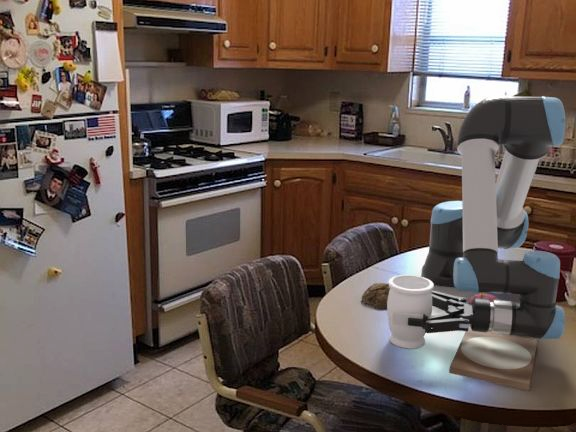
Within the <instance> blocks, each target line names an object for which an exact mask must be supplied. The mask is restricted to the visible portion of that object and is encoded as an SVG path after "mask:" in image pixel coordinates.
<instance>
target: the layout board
mask: <svg viewBox="0 0 576 432" xmlns="http://www.w3.org/2000/svg"><path fill="white" fill-rule="evenodd" d="M537 346H538V339H535V338H530V337H525V336H517V335H507V334H503V335H500V334H497V333H491V331H490V330H488V332H476V331H472V330H471V326H469V328H468V331H464V334H463V336H462V338H461V341H460V343H459V345H458V347H457V349H456V351H455V354H454V355H453V358H452V359H451V363H450V365H449V370H448V373H449V374H453V375H458V376H462V377H467V378H471V379H474V380H475V379H476V380H479V381H484V382H488V383H493V384H498V385H501V386H506V387H511V388H516V389H520V390H523V391H529V389H530V385H531V384H530V383H531V380H532V373H533V370H534V369H533V368H534V363H535V358H536V351H537V348H538V347H537Z"/></svg>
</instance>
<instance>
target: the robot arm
mask: <svg viewBox="0 0 576 432" xmlns="http://www.w3.org/2000/svg"><path fill="white" fill-rule="evenodd" d="M468 111H469V112H467V114H466V116H465V117H464V118H463V121H462V122H461V125H460V127H459V130H458V134H457V139H456V144H457V146H456V147H457V152H458V154H459V155H461V188H462V189H461V193H462V194H461V196H462V197H461V198H462V200H449V201H443V202H440V203H438V204H436V205H435V206H434V207H433V208H432V211H431V217H430V218H431V219H430V220H429V221H430V234H429V245H428V254H427V255H426V258H425V260H424V261H425V262H424V264H423V265H422V267H421V277H424V278H427V279H429V280H431V281H432V282H433V284H434V285H437V286H443V287H455V289H456V290H458V291H461V292H469V293H474V294H476V293H477V294H480V293H483V294H504V295H518V296H519V299H518V300H519V301H511V300H502V299H500V300H493V301H492V302H490V301H489V300H488V299H478V298H474V299H473V301H472V304H471V305H470V304H468V301H467V300H468V299H467V298H466V297H462V296H456V295H452V294H448V293H444V292H441V291H436V290H434V289H433V290H432V291H431V294H432V307H434V308H437V309H439V310H441V311H444V312H441V313H439V314H438V313H436V314H433V315H432V314H431V316H427V315H425V314H423V315H419V314H409V313H400V312H393V324H395V325H404V326H413V327H422V328H423V329H425V332H426V334H436V333H446V332H447V333H448V332H457V331H458V332H466V331H468V328H469V327H471V330H472V331H476V332H488V331H491V333H497V334H500V335H503V334H507V335H513V336H519V337H524V338H532V339H537V340H538V339H539V340H542V339H543V340H558V339H560V338H562V336H563V335H564V332H565V325H566V323H565V321H566V315H565V314H566V313H565V309H564V308H563V307H562V306H559V305H557V304H556V301H557V300H556V299H557V293H558V288H559V280H560V270H561V260H560V258H559V257H558V256H557V255H556V254H555V253H553V252H550V251H549V252H548V251H546V250H545V251H543V250H530V251H526V252H525V253H524V256H523V258H522V260H515V259H514V260H512V259H499V255H498V254H499V249H504V250H508V249H518V248H520V247H521V246H522V245H523V244H524V242H525V241H526V239H527V236H528V235H527V234H528V230H529V216H528V213H527V211H526V210H525V209H524V204H525V201H526V199H527V195H528V192H529V190H530V187H531V185H532V181H533V179H534V176H535V173H536V170H537V167H538V165H539V162H540V160H541V159H543V158H544V157H546V156H547V155H549V152H550V150H551V147H553V148H556V147H560V146H561V145H562V144H563V142H564V141H565V135H566V112H565V107H564V105H563V102H562V100H560V98H557V97H552V96H551V97H550V96H545V95H542V96H515V95H510V96H509V95H508V96H507V95H493V96H489V97H485V98H484V99H482V100H481V101H479V102H478V103H476V104H475V105H474V106H472V108H471V109H470V110H468ZM500 145H502V147H503V149H504V150H505V151H504V155H503V158H502V162H501V165H500V169H499V171H498V175H497V177H496V155H495V154H496V153H497V152H498V151H499V150H500ZM469 325H470V326H469Z"/></svg>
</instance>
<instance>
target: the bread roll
mask: <svg viewBox="0 0 576 432" xmlns="http://www.w3.org/2000/svg"><path fill="white" fill-rule="evenodd" d="M389 291H390V287H389V283H386V282H376V283H373V284H371V285H370V286H368V288H367V289H366V290H364V292H363V294H362V296H361V301H362V304H365V305H366V304H367V305H370V306H372V307H373V309H376V310H380V311H381V310H382V311H383V310H387V301H388V295H389Z"/></svg>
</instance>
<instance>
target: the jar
mask: <svg viewBox="0 0 576 432" xmlns="http://www.w3.org/2000/svg"><path fill="white" fill-rule="evenodd" d="M388 284H389V287H390V291H389V295H388V301H387V309H386V312H387V317H388V318H387V321H388V327H389V330H390V332H391V333H390V335H389V341H390V342H391V343H392V344H393V345H394V346H396V347H399V348H403V349H409V350H411V349H412V350H413V349H419V348H422V347H423V346H424V345H425V343H426V339H425V335H426V334H427V333H426V332H425V329H423V328H422V327H413V326H404V325H395V324H393V312H400V313H409V314H419V315H423V314H425V315H427V316H432V313H433V306H432V294H431V291H432V290H434V288H435V287H434V285H435V284H433V282H432V281H431V280H429V279H427V278H424V277H422V276H420V275H415V274H400V275H399V274H398V275H394V276H392V277H391V278H389V280H388Z"/></svg>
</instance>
